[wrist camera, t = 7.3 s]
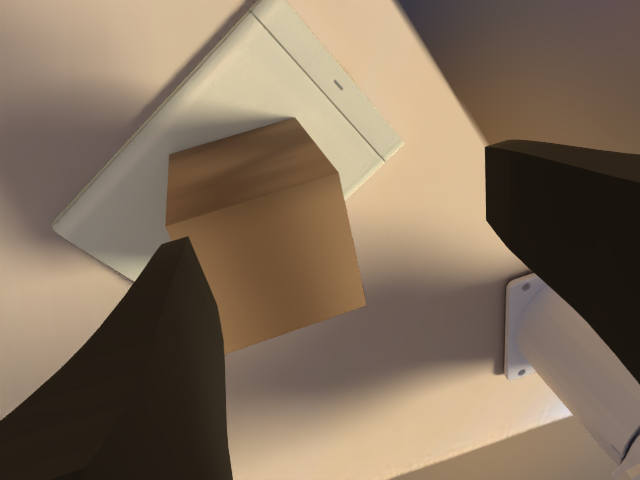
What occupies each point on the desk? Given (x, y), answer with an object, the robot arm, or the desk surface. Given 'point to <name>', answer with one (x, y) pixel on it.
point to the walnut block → (266, 230)
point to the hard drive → (228, 131)
